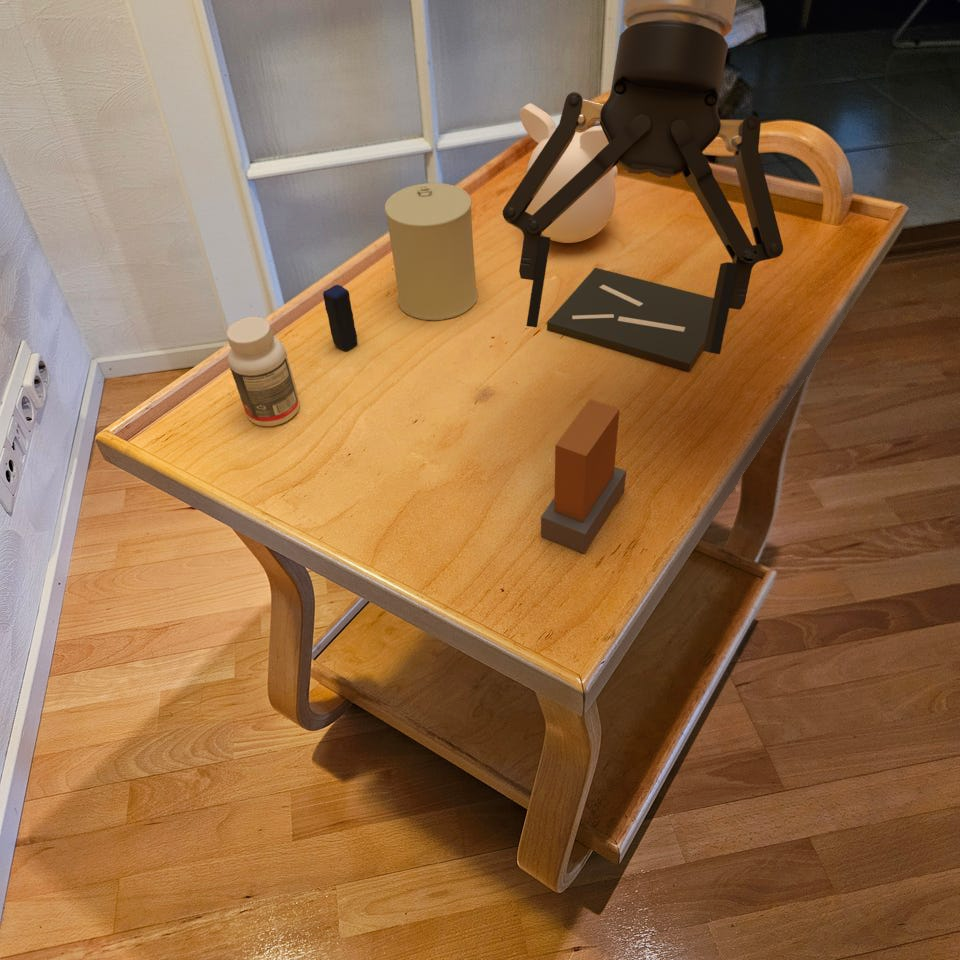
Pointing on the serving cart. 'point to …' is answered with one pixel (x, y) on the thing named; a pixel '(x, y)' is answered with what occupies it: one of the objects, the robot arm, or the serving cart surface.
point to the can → (432, 250)
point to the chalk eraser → (584, 478)
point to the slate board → (636, 318)
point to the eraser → (340, 317)
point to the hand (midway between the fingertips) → (620, 339)
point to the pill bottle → (261, 372)
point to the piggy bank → (594, 203)
